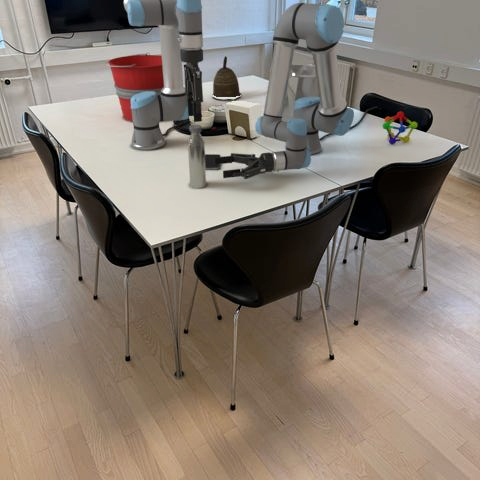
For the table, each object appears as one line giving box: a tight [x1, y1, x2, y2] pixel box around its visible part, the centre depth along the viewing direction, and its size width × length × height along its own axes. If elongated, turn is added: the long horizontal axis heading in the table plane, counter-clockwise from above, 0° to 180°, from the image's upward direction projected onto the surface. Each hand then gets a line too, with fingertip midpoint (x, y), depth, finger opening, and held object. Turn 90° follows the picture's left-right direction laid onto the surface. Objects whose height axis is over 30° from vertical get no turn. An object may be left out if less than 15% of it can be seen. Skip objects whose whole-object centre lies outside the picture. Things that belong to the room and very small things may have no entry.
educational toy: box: [382, 110, 418, 145], centre depth 207 cm, size 16×13×15 cm
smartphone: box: [205, 153, 221, 170], centre depth 189 cm, size 7×1×15 cm
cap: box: [188, 124, 203, 134], centre depth 158 cm, size 4×4×2 cm
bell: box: [212, 56, 242, 97], centre depth 278 cm, size 19×26×20 cm
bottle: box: [187, 132, 207, 189], centre depth 164 cm, size 6×6×22 cm
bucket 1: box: [105, 52, 164, 123], centre depth 239 cm, size 35×35×30 cm
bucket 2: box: [269, 63, 320, 122], centre depth 226 cm, size 30×30×28 cm
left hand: (194, 118), depth 156 cm, fingers open, 6 cm apart
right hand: (218, 167), depth 168 cm, fingers open, 13 cm apart
